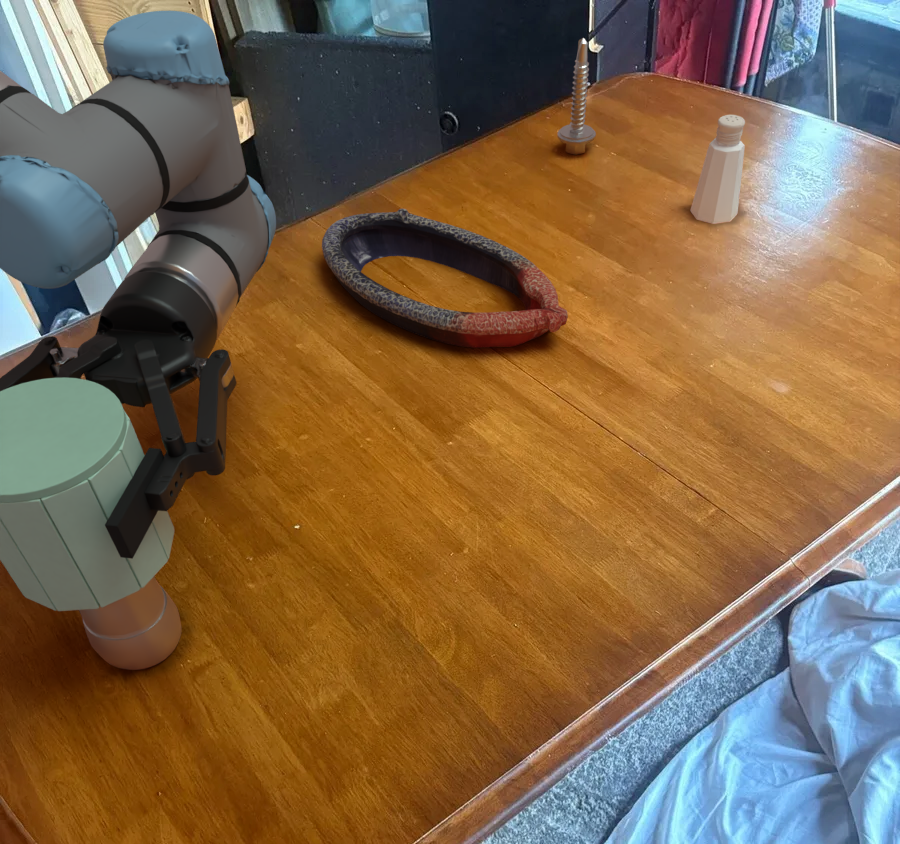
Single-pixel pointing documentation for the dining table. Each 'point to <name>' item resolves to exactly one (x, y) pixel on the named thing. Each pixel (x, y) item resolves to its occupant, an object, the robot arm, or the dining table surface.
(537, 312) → the grey speckled oval ring
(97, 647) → the plastic bottle
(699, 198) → the salt shaker
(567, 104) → the dining table surface
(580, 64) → the screw
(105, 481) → the green ribbed canister
